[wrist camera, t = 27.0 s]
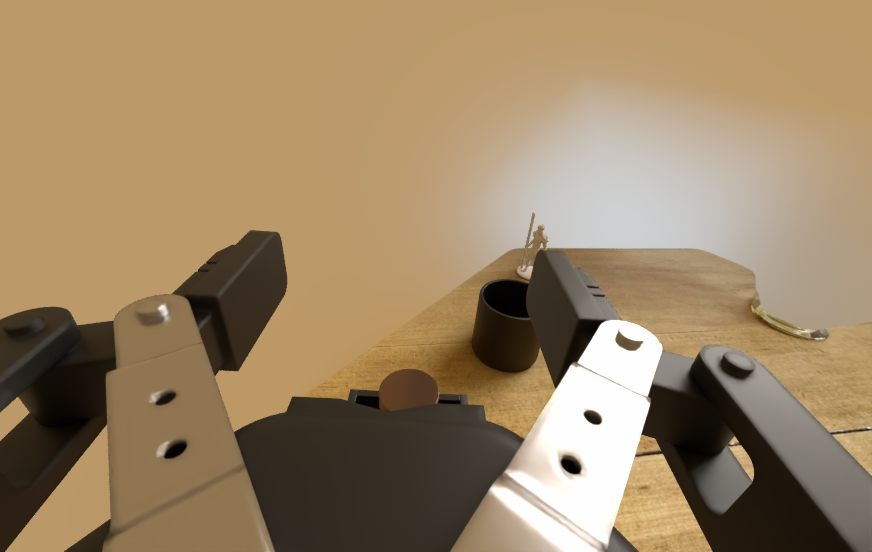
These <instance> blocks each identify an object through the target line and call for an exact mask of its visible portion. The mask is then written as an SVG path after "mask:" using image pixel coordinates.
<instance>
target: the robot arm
mask: <svg viewBox="0 0 872 552" xmlns="http://www.w3.org/2000/svg"><path fill="white" fill-rule="evenodd" d="M286 288H287V272H286V266H285V260H284V253H283V247H282V241H281V237H280V235H279V233H278V232H269V231H254V230H251V231H249V232H248V233H247V234H246V235H245V236H244V237H243V238H242V239H241V240H240V241H239V242H238V243H237V244H236V245H231V246H229V247H227V248H225V249H223V250H221V251H219V252H216V253H215V254H214V255H213V256H212V257H211V258H210V259H209V260H208V261H207V263H206V264H204V265H203V266H201V267H200V268H199V269H198V272H195V273H194V274H193V275H192V276H191V277H190V278H188V279H187V280H186V281H185V282H184V283H183V284H182V285H181V286H180V287H179V288H178V289H177V290H175V291H174V292H173V293H172V294H163V295H155V296H151V297H147V298H143V299H141V300H138V301H135V302H133V303H131V304H129V305H127V306H126V307H125V308H123V309H122V310H121V311H119V312H118V313H117V315H116V316H115V318H114V321H108V322H100V323H93V324H86V325H77V324H76V322H75V320H74V319H73V317H72V315H71V313H70V312H69V311H68V310H67V309H64V308H60V307H43V308H37V309H31V310H27V311H23V312H20V313H16V314H13V315H10V316H8V317H5V318H3V319H1V320H0V412H1V411H2V410H3V409H4V408H6V407H7V406H8V405H9V404H10V403H11V402H12V401H13V400H15V399H16V397H19V398H20V400H21V401H22V403H23V404H24V405H25V407H26V408H27V409H28V411H29V412H30V413H29V414H28V415H27V416H26V417H25V418H24V419H23V420H22V421H21V422H20V423H19V424H18V425H17V426H16V427H15V428H14V429H12V430H11V431H10V432H9V433H8V434H7V435H6V436H5V437H4V438H3V439H2V440H1V441H0V552H5V551H6V550H7V548H8V547H9V546H10V545H11V543H12V542H13V541H14V539H15V538H16V537H17V536H18V535H19V533H20V532H21V531H22V530H23V528H24V527H25V526H26V525H27V523H28V522H29V521H30V519H31V518H32V517H33V516H34V515H35V513H36V512H37V511H38V510H39V508H40V507H41V506H42V505H43V503H44V502H45V501H46V500H47V498H48V497H49V496H50V495H51V493H52V492H53V491H54V490H55V488H56V487H57V486H58V485H59V483H60V482H61V481H62V480H63V478H64V477H65V476H66V475H67V473H68V472H69V471H70V470H71V468H72V467H73V466H74V465H75V463H76V462H77V461H78V460H79V458H80V457H81V456H82V455H83V453H84V452H85V451H86V450H87V448H88V447H89V446H90V445H91V443H92V442H93V441H94V440H95V438H96V437H97V436H98V435H99V433H100V432H101V431H102V429H103V428H104V427H105V426H106V425H107V426H108V427H107V428H108V456H109V483H110V512H111V519H109V520H108V521H107V522H105V523H104V524H102V525H101V526H100V527H98V528H97V529H95V530H94V531H93V532H91V533H90V534H88V535H87V536H85V537H84V538H82V539H81V540H80V541H78V542H77V543H76V544H74V545H73V546H71V547H70V548H68V549H67V550H66V551H64V552H639V551H638V550H637V549H636V548H635V547H634V546H633V545H632V544H631V543H630V542H629V541H628V540H627V539H626V538H625V537H624V536H623V535H622V534H621V533H620V532H619V531H618V530H617V529H616V528H615V527H614V526H613V525H614V521H615V518H616V515H617V511H618V508H619V505H620V501H621V498H622V495H623V492H624V488H625V485H626V482H627V478H628V475H629V472H630V469H631V465H632V462H633V459H634V455H635V452H636V449H637V446H638V442H639V439H640V436H641V434H642V435H645V436H648V437H652V438H655V439H656V441H657V443H658V445H659V447H660V449H661V451H662V453H663V455H664V457H665V459H666V461H667V463H668V465H669V466H670V468H671V470H672V472H673V474H674V476H675V478H676V480H677V482H678V484H679V486H680V488H681V490H682V492H683V494H684V496H685V498H686V500H687V502H688V504H689V506H690V508H691V510H692V512H693V514H694V516H695V518H696V520H697V522H698V524H699V526H700V528H701V530H702V531H703V533H704V535H705V537H706V539H707V541H708V543H709V545H710V547H711V549H712V551H713V552H872V476H871V475H870V474H869V473H868V472H867V471H866V470H865V469H864V468H863V467H862V466H861V465H860V463H859V462H858V461H857V460H856V459H855V458H854V457H853V456H852V455H851V454H850V453H849V452H848V451H847V450H846V449H845V448H844V447H843V446H842V445H841V444H840V443H839V442H838V441H837V440H836V439H835V438H834V437H833V436H832V435H831V434H830V433H829V432H828V431H827V430H826V429H825V428H824V427H823V426H822V425H821V423H820V422H819V421H818V420H817V419H816V418H815V417H814V416H813V415H812V414H811V413H810V412H809V411H808V410H807V409H806V408H805V407H804V406H803V405H802V404H801V403H800V402H799V401H798V400H797V399H796V398H795V397H794V396H793V395H792V394H791V393H790V392H789V391H788V390H787V389H786V388H785V387H784V386H783V385H782V383H781V382H780V381H779V380H778V379H777V378H776V377H775V376H774V375H773V374H772V373H771V372H770V371H769V370H768V369H767V368H766V367H765V366H764V365H762V364H761V363H760V362H758V361H757V360H755V359H754V358H752V357H751V356H749V355H747V354H745V353H743V352H741V351H738V350H736V349H733V348H730V347H726V346H721V345H707V346H704V347H703V348H702V349H701V350H700V352H699V354H698V355H697V357H696V359H693V358H689V357H685V356H682V355H678V354H674V353H670V352H666V351H663V350H662V347H661V344H660V342H659V341H658V339H657V338H656V337H655V336H654V335H653V334H651V333H650V332H649V331H647V330H646V329H644V328H642V327H640V326H638V325H636V324H633V323H630V322H626V321H623V320H622V319H621V317H620V316H619V315H618V313H617V312H616V310H615V309H614V307H613V306H612V305H611V303H610V302H609V300H608V299H607V297H605V295H604V293H603V292H602V290H601V289H599V286H598V285H597V283H596V282H595V280H594V279H593V278H592V276H590V275H589V274H587V273H586V272H585V271H583V270H582V269H580V268H577V267H574V266H573V264H572V263H571V261H570V260H569V258H568V256H567V255H566V253H565V252H563V251H550V250H539V251H538V252H537V254H536V257H535V261H534V265H533V269H532V273H531V277H530V282H529V286H528V290H527V295H526V307H527V311H528V314H529V317H530V320H531V322H532V325H533V328H534V331H535V334H536V336H537V339H538V342H539V345H540V347H541V350H542V353H543V356H544V358H545V361H546V364H547V367H548V370H549V372H550V375H551V378H552V381H553V383H554V386H555V388H557V389H556V390H555V392H554V393H553V395H552V397H551V398H550V400H549V401H548V403H547V405H546V406H545V408H544V409H543V411H542V413H541V414H540V416H539V417H538V419H537V421H536V422H535V424H534V425H533V427H532V429H531V430H530V432H529V434H528V435H527V437H526V438H525V439H523V438H522V437H520V436H518V435H517V434H515V433H514V432H512V431H510V430H508V429H506V428H504V427H502V426H499V425H497V424H494V423H491V422H488V421H486V418H485V411H484V406H483V405H461V404H440V403H437V404H431V405H425V406H420V407H414V408H408V409H402V410H396V411H382V410H379V409H375V408H372V407H368V406H364V405H361V404H357V403H353V402H350V401H346V400H343V399H333V398H311V397H292V399H291V402H290V404H289V406H288V409H287V411H286V412H285V413H279V414H276V415H272V416H269V417H266V418H263V419H260V420H257V421H255V422H253V423H250V424H248V425H246V426H244V427H242V428H241V429H239V430H237V431H235V432H233V429H232V426H231V423H230V420H229V417H228V414H227V411H226V409H225V405H224V402H223V400H222V397H221V394H220V391H219V388H218V385H217V382H216V379H215V376H216V374H217V373H218V371H219V370H225V371H238V370H239V369H240V367H241V366H242V364H243V362H244V361H245V359H246V357H247V356H248V354H249V352H250V351H251V349H252V348H253V346H254V344H255V343H256V341H257V339H258V338H259V336H260V334H261V333H262V331H263V329H264V328H265V326H266V324H267V323H268V321H269V320H270V318H271V316H272V315H273V313H274V312H275V310H276V308H277V307H278V305H279V303H280V302H281V300H282V298H283V297H284V295H285V292H286ZM734 436H735V437H736V438H737V440H738V441H739V442H740V444H741V445H742V447H743V448H744V449H745V451H746V452H747V454H748V455H749V457H750V459H751V461H752V463H753V467H754V479H753V482H752V481H751V479H750V478H749V476H748V475H747V473H746V472H745V470H744V469H743V467H742V466H741V464H740V463H739V462H738V460H737V459H736V457H735V456H734V454H733V453H732V451H731V450H730V448H729V447H728V443H729V442H730V441H731V440H732V438H733V437H734Z"/></svg>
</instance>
